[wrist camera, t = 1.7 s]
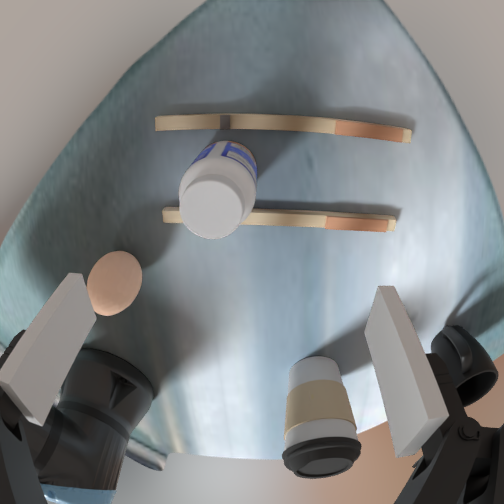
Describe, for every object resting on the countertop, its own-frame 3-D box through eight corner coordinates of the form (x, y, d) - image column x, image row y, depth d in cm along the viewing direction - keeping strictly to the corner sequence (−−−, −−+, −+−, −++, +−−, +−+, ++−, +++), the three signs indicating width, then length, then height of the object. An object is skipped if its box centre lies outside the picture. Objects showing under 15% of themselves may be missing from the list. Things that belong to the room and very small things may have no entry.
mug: (467, 289, 34) (502, 341, 26) (472, 343, 39) (496, 390, 31) (412, 317, 36) (438, 375, 28) (426, 366, 41) (445, 417, 33)
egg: (160, 265, 34) (136, 317, 26) (130, 287, 35) (103, 338, 28) (126, 229, 31) (92, 275, 24) (98, 255, 33) (64, 301, 26)
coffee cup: (359, 359, 40) (381, 458, 27) (324, 395, 44) (333, 485, 31) (300, 343, 39) (309, 453, 26) (269, 382, 43) (268, 480, 30)
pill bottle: (202, 199, 30) (176, 253, 21) (192, 143, 27) (158, 176, 19) (260, 194, 29) (258, 247, 21) (254, 135, 26) (249, 164, 18)
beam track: (166, 218, 31) (162, 224, 30) (158, 116, 26) (153, 118, 25) (390, 226, 30) (395, 232, 29) (407, 128, 25) (413, 131, 24)
